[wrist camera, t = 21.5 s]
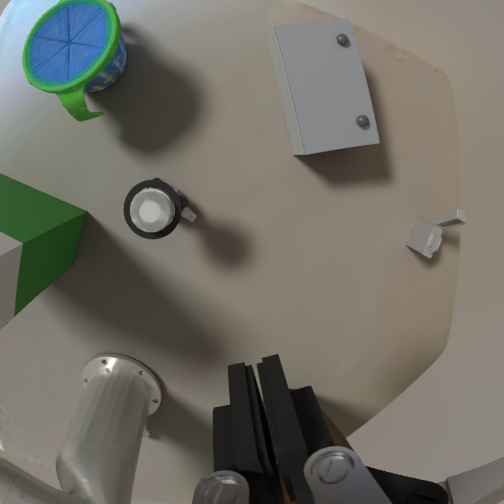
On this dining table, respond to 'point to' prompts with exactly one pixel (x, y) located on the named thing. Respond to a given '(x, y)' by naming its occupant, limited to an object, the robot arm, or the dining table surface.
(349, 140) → the cover
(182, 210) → the push button
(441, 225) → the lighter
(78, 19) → the snack cup
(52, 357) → the dining table surface
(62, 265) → the hardback book
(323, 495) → the robot arm
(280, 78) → the open box
